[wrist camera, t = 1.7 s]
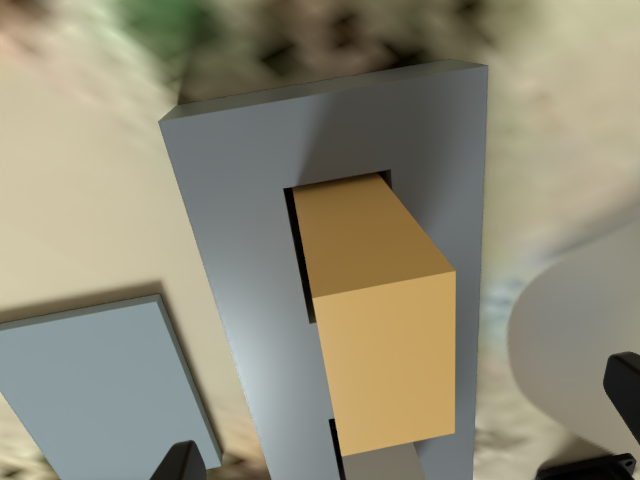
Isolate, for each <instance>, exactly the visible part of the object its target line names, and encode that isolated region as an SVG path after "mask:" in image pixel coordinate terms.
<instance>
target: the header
mask: <svg viewBox="0 0 640 480" xmlns="http://www.w3.org/2000/svg"><path fill="white" fill-rule="evenodd" d="M487 89H488V65H482V64H476V63H470V62H464V61H457V60H451V59H448V60H442V61H436V62H430V63H424V64H418V65H412V66H406V67H400V68H394V69H388V70H383V71H377V72H371V73H365V74H359V75H353V76H347V77H341V78H335V79H329V80H323V81H317V82H311V83H306V84H300V85H294V86H288V87H282V88H276V89H270V90H264V91H258V92H252V93H246V94H240V95H234V96H229V97H223V98H217V99H211V100H205V101H199V102H193V103H187V104H181V105H176V106H175V107H174V108H173V109H172V110H171V111H170V112H168V113H167V114H166V115H165V116H164V117H163V118H162V119H161V120H159V121H158V123H159V126H160V129H161V132H162V136H163V139H164V142H165V145H166V148H167V151H168V155H169V158H170V161H171V164H172V167H173V170H174V174H175V177H176V180H177V183H178V186H179V189H180V192H181V196H182V199H183V202H184V205H185V208H186V211H187V215H188V218H189V221H190V224H191V227H192V230H193V233H194V237H195V240H196V243H197V246H198V249H199V252H200V256H201V259H202V262H203V265H204V268H205V271H206V274H207V278H208V281H209V284H210V287H211V290H212V293H213V297H214V300H215V303H216V306H217V309H218V312H219V315H220V319H221V322H222V325H223V328H224V331H225V334H226V338H227V341H228V344H229V347H230V350H231V353H232V356H233V360H234V363H235V366H236V369H237V372H238V375H239V379H240V382H241V385H242V388H243V391H244V394H245V397H246V401H247V404H248V407H249V410H250V413H251V416H252V420H253V423H254V426H255V429H256V432H257V435H258V438H259V442H260V445H261V448H262V451H263V454H264V457H265V461H266V464H267V467H268V470H269V473H270V476H271V479H272V480H346V476H345V471H344V465H343V460H342V455H341V450H340V445H339V442H337V443H334V440H333V435H332V430H331V424H330V419H333V418H334V412H333V407H332V401H331V396H330V391H329V385H328V380H327V375H326V369H325V364H324V358H323V353H322V348H321V342H320V337H319V331H318V326H317V321H316V315H315V310H314V304H313V299H312V294H311V288H310V283H309V281H308V282H303V280H302V275H301V270H300V265H299V260H298V254H297V249H296V244H295V239H294V234H293V229H292V223H291V218H290V213H289V208H288V203H287V198H286V193H285V188H289V187H294V186H300V185H305V184H311V183H317V182H322V181H328V180H333V179H339V178H345V177H350V176H356V175H361V174H367V173H372V172H377V173H378V174H379V175H380V177H381V178H382V179H383V180H384V182H385V183H386V184H387V185H388V187H389V188H390V189H391V190H392V192H393V193H394V194H395V195H396V197H397V198H398V199H399V200H400V202H401V203H402V204H403V205H404V207H405V208H406V209H407V210H408V212H409V213H410V214H411V215H412V217H413V218H414V219H415V220H416V222H417V223H418V224H419V225H420V227H421V228H422V229H423V231H424V232H425V233H426V234H427V236H428V237H429V238H430V239H431V241H432V242H433V243H434V244H435V246H436V247H437V248H438V249H439V251H440V252H441V253H442V254H443V256H444V257H445V258H446V259H447V261H448V262H449V263H450V264H451V266H452V267H453V268H454V269H455V271H456V309H455V433H453V434H448V435H443V436H438V437H434V438H429V439H424V440H419V441H414V442H413V444H414V447H415V450H416V453H417V455H418V458H419V461H420V464H421V466H422V469H423V472H424V475H425V478H426V480H473V456H474V430H475V404H476V378H477V351H478V325H479V299H480V273H481V246H482V220H483V194H484V168H485V141H486V115H487Z"/></svg>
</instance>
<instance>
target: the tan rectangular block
mask: <svg viewBox="0 0 640 480" xmlns="http://www.w3.org/2000/svg"><path fill="white" fill-rule="evenodd" d="M292 190H293V195H294V201H295V206H296V211H297V217H298V222H299V228H300V233H301V239H302V244H303V250H304V255H305V261H306V266H307V272H308V277H309V283H310V288H311V294H312V299H313V304H314V310H315V315H316V321H317V326H318V331H319V337H320V342H321V348H322V353H323V358H324V364H325V369H326V375H327V380H328V385H329V391H330V396H331V401H332V407H333V412H334V418H335V423H336V428H337V434H338V439H339V445H340V450H341V455H342V456H347V455H351V454H356V453H361V452H366V451H371V450H376V449H380V448H385V447H390V446H395V445H400V444H405V443H409V442H414V441H419V440H424V439H429V438H434V437H438V436H443V435H448V434H453V433H455V309H456V271H455V269H454V268H453V267H452V266H451V264H450V263H449V262H448V261H447V259H446V258H445V257H444V256H443V254H442V253H441V252H440V251H439V249H438V248H437V247H436V246H435V244H434V243H433V242H432V241H431V239H430V238H429V237H428V236H427V234H426V233H425V232H424V231H423V229H422V228H421V227H420V225H419V224H418V223H417V222H416V220H415V219H414V218H413V217H412V215H411V214H410V213H409V212H408V210H407V209H406V208H405V207H404V205H403V204H402V203H401V202H400V200H399V199H398V198H397V197H396V195H395V194H394V193H393V192H392V190H391V189H390V188H389V187H388V185H387V184H386V183H385V182H384V180H383V179H382V178H381V177H380V175H379V174H378V173H377V172H372V173H367V174H361V175H356V176H350V177H345V178H339V179H333V180H328V181H322V182H317V183H311V184H305V185H300V186H294V187H292Z"/></svg>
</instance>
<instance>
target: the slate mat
mask: <svg viewBox="0 0 640 480" xmlns="http://www.w3.org/2000/svg"><path fill="white" fill-rule="evenodd" d="M0 392H1V393H2V395H3V396H4V398H5V399H6V401H7V402H8V404H9V405H10V406H11V408H12V409H13V411H14V412H15V414H16V415H17V417H18V418H19V420H20V421H21V422H22V424H23V425H24V427H25V428H26V430H27V431H28V433H29V434H30V435H31V437H32V438H33V440H34V441H35V443H36V444H37V446H38V447H39V449H40V450H41V451H42V453H43V454H44V456H45V457H46V459H47V460H48V462H49V463H50V465H51V466H52V467H53V469H54V470H55V472H56V473H57V475H58V476H59V478H60V479H61V480H149V479H150V478H151V476H152V475H153V473H154V472H155V470H156V469H157V467H158V466H159V464H160V463H161V461H162V460H163V458H164V457H165V455H166V454H167V452H168V451H169V449H170V448H171V446H172V445H174V444H175V443H177V442H182V441H187V440H193V441H195V443H196V444H197V447H198V449H199V451H200V454H201V456H202V458H203V461H204V463H205V467H206V469H210V468H215V467H220V466H222V454H221V451H220V448H219V446H218V443H217V441H216V438H215V436H214V433H213V430H212V428H211V425H210V423H209V420H208V418H207V415H206V412H205V410H204V407H203V405H202V402H201V399H200V397H199V394H198V392H197V389H196V387H195V384H194V381H193V379H192V376H191V374H190V371H189V369H188V366H187V363H186V361H185V358H184V356H183V353H182V350H181V348H180V345H179V343H178V340H177V338H176V335H175V332H174V330H173V327H172V325H171V322H170V320H169V317H168V314H167V312H166V309H165V307H164V304H163V301H162V299H161V296H160V294H155V295H150V296H144V297H139V298H134V299H128V300H123V301H118V302H112V303H107V304H102V305H96V306H91V307H86V308H80V309H75V310H70V311H64V312H59V313H54V314H48V315H43V316H38V317H32V318H27V319H22V320H16V321H11V322H6V323H0Z"/></svg>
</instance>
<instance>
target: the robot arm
mask: <svg viewBox="0 0 640 480" xmlns="http://www.w3.org/2000/svg"><path fill="white" fill-rule="evenodd" d="M603 386H604V389H605V392H606V394H607V395H608V397H609V398H610V400H611V402H612V403H613V405H614V406H615V408H616V409H617V411H618V412H619V414H620V415H621V416H622V418H623V420H624V422H625V423H626V425H627V426H628V428H629V429H630V431H631V432H632V434H633V436H634V437H635V439H636V440H637V441H638V443H639V445H640V355H638V354H636V353H633V352H622V353H617V354H613V355H611V356H610V357H609V358H608V361H607V366H606V370H605V375H604V379H603ZM635 465H636V460H635V458H634V457H633V456H632V455H631V454H630V453H625V454H620V455H615V456H611V457H606V458H601V459H597V460H592V461H587V462H582V463H578V464H573V465H568V466H564V467H559V468H554V469H550V470H545V471H542V472H540V473H539V474H538V475H537V478H536V480H635V479H634V478H633V477H632V474H633V471H634V468H635ZM149 480H206V467H205V463H204V461H203V458H202V456H201V454H200V451H199V449H198V447H197V444H196V443H195V441H193V440H187V441H182V442H177V443H175V444H174V445H172V446H171V448H170V449H169V451H168V452H167V454H166V455H165V457H164V458H163V460H162V461H161V463H160V464H159V466H158V467H157V469H156V470H155V472H154V473H153V475H152V476H151V478H150V479H149Z"/></svg>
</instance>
